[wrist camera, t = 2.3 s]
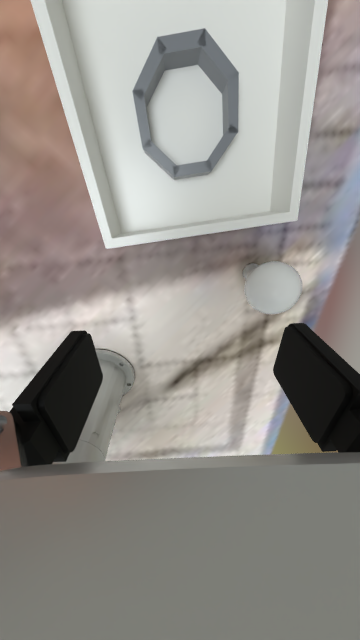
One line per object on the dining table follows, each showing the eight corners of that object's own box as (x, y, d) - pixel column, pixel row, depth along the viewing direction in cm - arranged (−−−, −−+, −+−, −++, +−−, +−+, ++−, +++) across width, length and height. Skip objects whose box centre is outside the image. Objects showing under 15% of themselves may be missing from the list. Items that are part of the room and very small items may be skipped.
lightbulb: (248, 297, 33) (279, 333, 24) (221, 274, 31) (243, 303, 22) (278, 267, 31) (326, 293, 21) (251, 240, 29) (291, 256, 19)
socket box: (273, 218, 28) (297, 220, 22) (118, 241, 28) (106, 248, 23) (298, -71, 17) (355, -196, 12) (47, -21, 18) (-5, -118, 12)
